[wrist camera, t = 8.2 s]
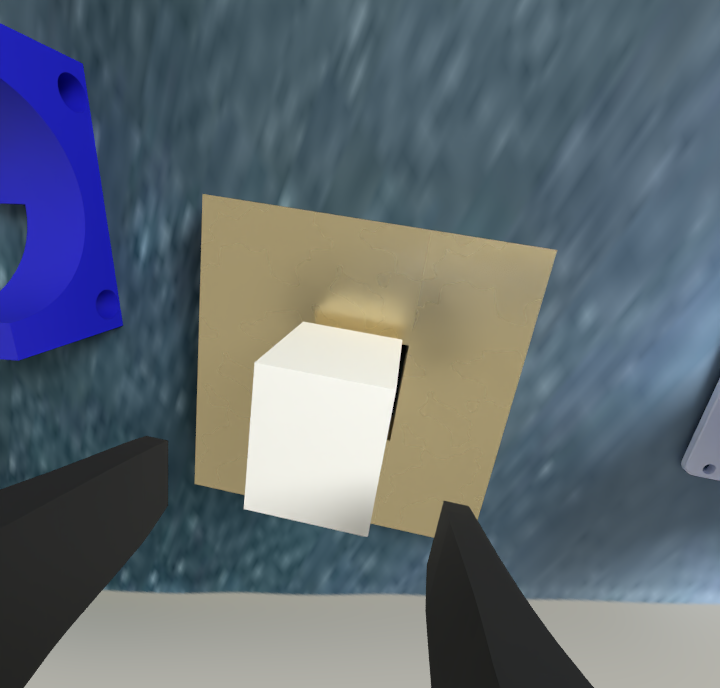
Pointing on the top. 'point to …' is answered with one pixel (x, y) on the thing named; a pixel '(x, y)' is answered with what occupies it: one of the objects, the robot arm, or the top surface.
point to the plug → (321, 426)
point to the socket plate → (373, 316)
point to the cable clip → (52, 203)
